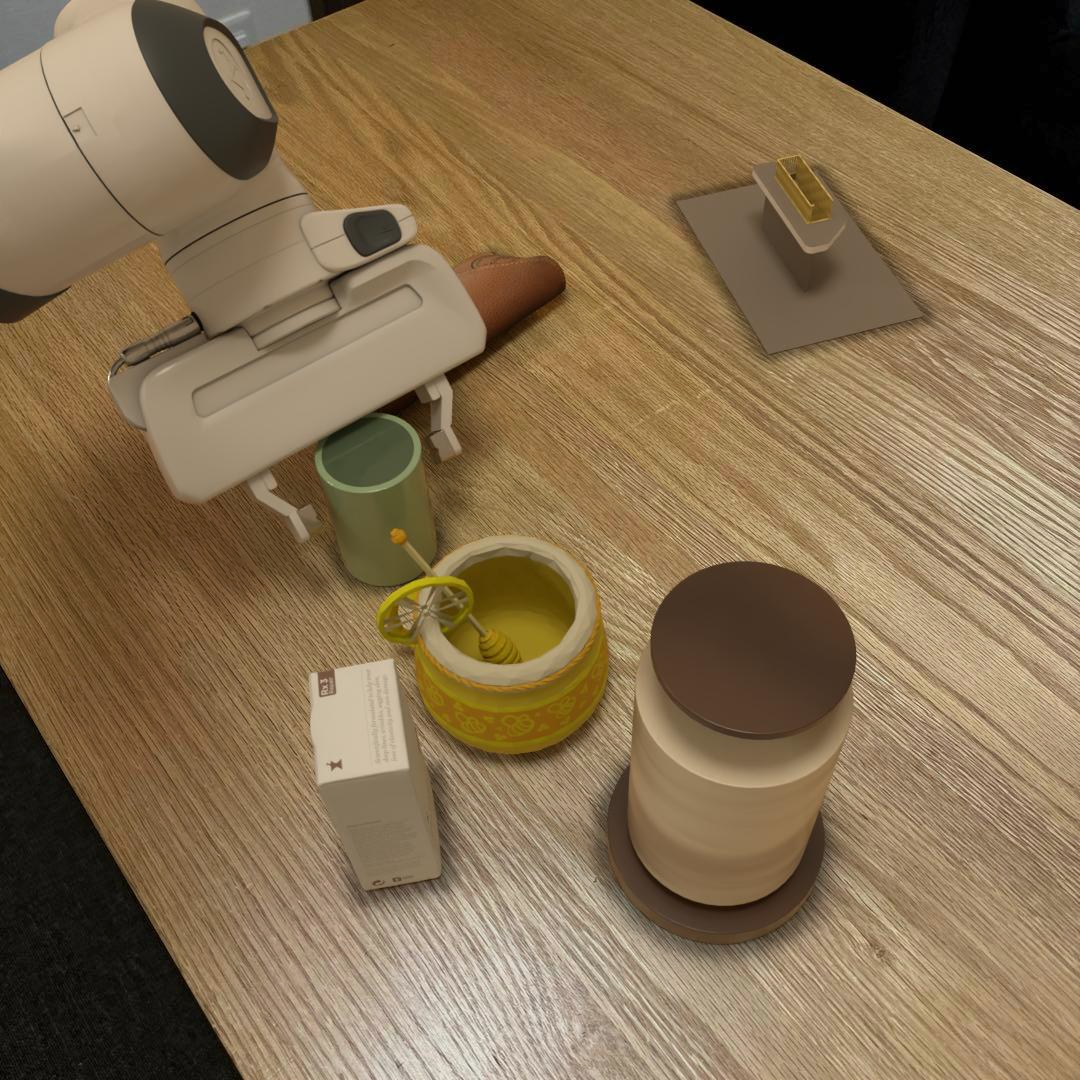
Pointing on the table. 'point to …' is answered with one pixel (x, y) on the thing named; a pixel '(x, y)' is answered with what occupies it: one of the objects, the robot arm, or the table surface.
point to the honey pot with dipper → (503, 641)
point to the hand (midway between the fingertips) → (382, 497)
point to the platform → (796, 258)
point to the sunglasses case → (500, 297)
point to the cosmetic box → (374, 774)
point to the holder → (732, 752)
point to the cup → (377, 497)
